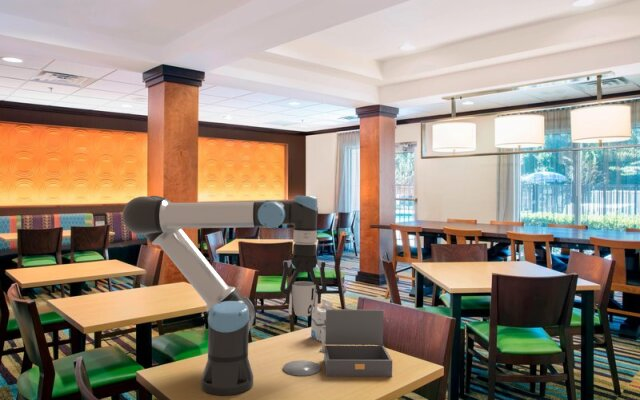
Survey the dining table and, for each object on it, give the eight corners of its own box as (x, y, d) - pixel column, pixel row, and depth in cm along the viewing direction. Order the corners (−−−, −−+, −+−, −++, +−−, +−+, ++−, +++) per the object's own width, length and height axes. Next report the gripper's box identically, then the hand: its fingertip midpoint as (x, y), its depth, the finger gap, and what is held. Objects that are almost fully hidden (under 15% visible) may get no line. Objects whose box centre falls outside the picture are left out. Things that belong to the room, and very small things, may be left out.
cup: (313, 318, 148) (314, 286, 148) (288, 316, 149) (289, 285, 149) (316, 312, 156) (317, 282, 156) (292, 310, 157) (293, 280, 157)
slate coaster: (282, 375, 146) (282, 373, 146) (283, 362, 158) (283, 360, 158) (321, 375, 147) (321, 374, 147) (319, 362, 159) (319, 360, 159)
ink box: (310, 336, 187) (311, 299, 187) (321, 335, 190) (322, 298, 190) (321, 342, 180) (322, 304, 180) (332, 341, 182) (333, 303, 182)
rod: (319, 351, 169) (319, 349, 169) (319, 351, 170) (319, 348, 170) (343, 351, 170) (343, 349, 170) (343, 351, 171) (343, 348, 171)
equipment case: (323, 376, 146) (324, 321, 146) (320, 358, 162) (322, 309, 162) (392, 377, 147) (393, 322, 147) (383, 359, 163) (384, 309, 163)
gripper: (273, 244, 147) (271, 316, 147) (338, 245, 150) (335, 316, 150) (272, 241, 154) (270, 310, 155) (334, 242, 157) (332, 310, 157)
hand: (302, 313), depth 152 cm, fingers closed on cup, 8 cm apart
